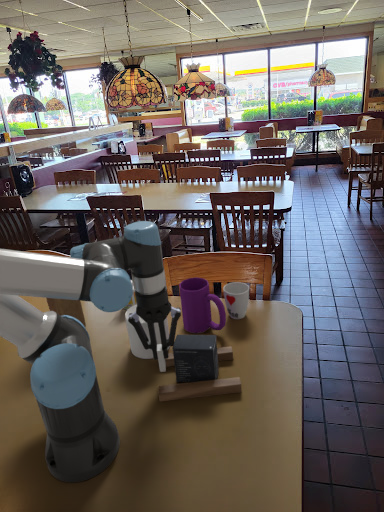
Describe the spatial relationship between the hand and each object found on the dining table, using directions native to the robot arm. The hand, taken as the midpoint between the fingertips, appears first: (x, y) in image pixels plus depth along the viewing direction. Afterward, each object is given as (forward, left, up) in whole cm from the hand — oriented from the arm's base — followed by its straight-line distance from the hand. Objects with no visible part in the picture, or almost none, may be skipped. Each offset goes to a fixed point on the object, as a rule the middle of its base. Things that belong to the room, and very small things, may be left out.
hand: (162, 368), depth 98 cm
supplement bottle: (+40, +12, -4) cm, 42 cm away
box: (0, -9, -4) cm, 10 cm away
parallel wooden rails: (0, -9, -4) cm, 10 cm away
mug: (+21, -13, -4) cm, 25 cm away
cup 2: (+27, -24, -4) cm, 36 cm away
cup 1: (+15, +4, -4) cm, 16 cm away
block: (+26, +30, -4) cm, 40 cm away
